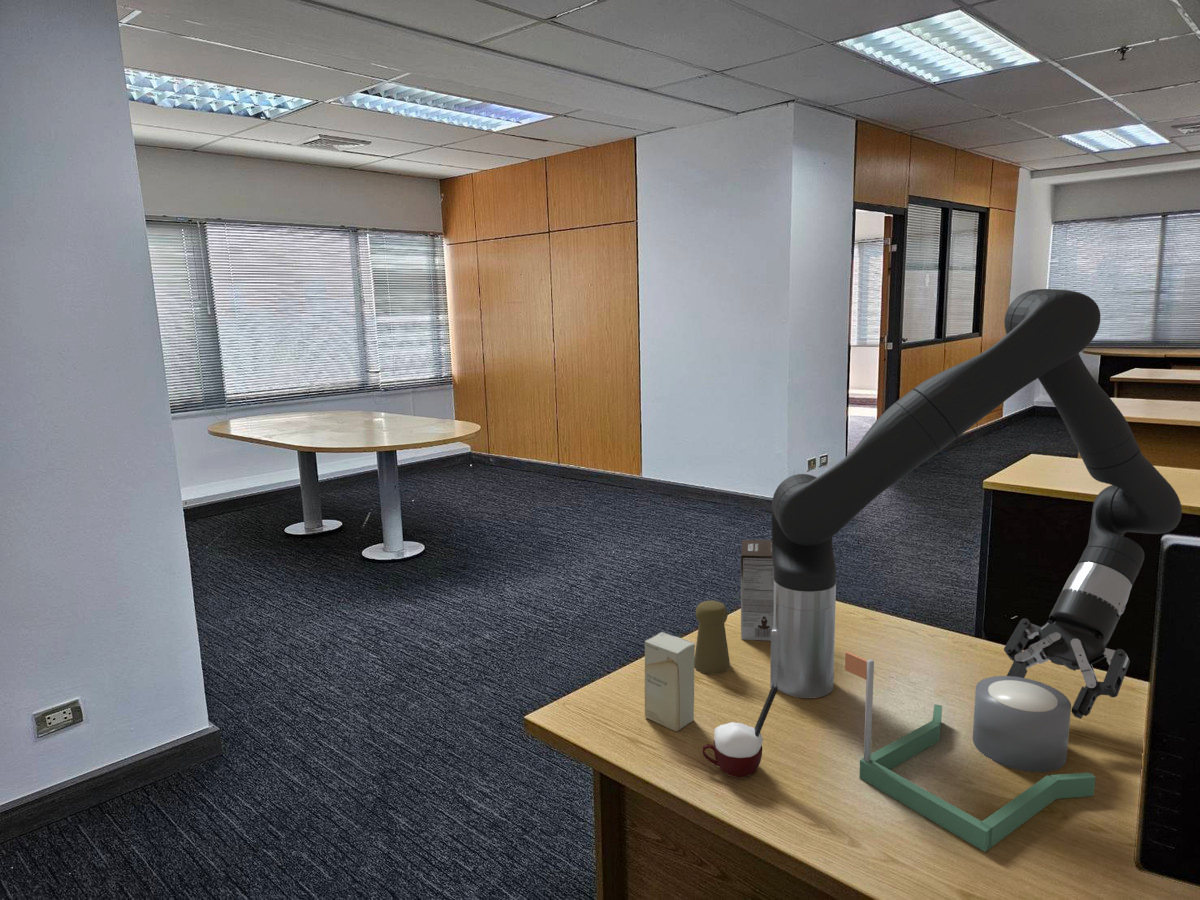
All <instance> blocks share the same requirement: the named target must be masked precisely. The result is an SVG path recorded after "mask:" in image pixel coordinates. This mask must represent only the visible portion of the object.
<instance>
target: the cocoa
mask: <svg viewBox="0 0 1200 900" xmlns="http://www.w3.org/2000/svg"><path fill="white" fill-rule="evenodd" d="M778 691H779V690H778V686H777V683H776V682H774V683H773V685H772V687H771V688H770V690H769V692H768V694H767V696H766V700H765V702H764V705H763V707H762V709H761V711H760V714H759V716H758V720H757V721H756V724H755V726H754V727H753V726H750V725H746V724H745V723H741V722H733V721H731V722H728V723H727V722H726V723H724V724H721V725H718V726H717V727H715V728H714V736H713V737H714V739H713V745H712V744H709V743H708V744H707V743H706V744H704V745H703V747H702V749H701V750H702V751H701V752H702V755H703V757H704V758H705V759H706V760H707V761H708V762H709V763H710V764H712V765H714V766H716V767H719V770H721V771H722V772H723V774H726V775H728V776H730V777H734V778H739V779H740V778H746V777H749V776H751V775H753V774H754V773H755V772H756V771H757V769H758V768H759V767H760V764H761V761H762V756H763V741H764V738H763V735H762V733H761V731H762V728H763V726H764V723H765V721H766V719H767V716H768V714H769V712H770V709H771V706H772V704H773V702H774V700H775V697H776V695H777V692H778ZM707 749H709V750H712V751H713V753H714V757H715V759H714V758H712V757H711V756H709V755H708V754H707V753H706V750H707Z"/></svg>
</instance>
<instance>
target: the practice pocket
mask: <svg viewBox="0 0 1200 900" xmlns="http://www.w3.org/2000/svg"><path fill="white" fill-rule="evenodd" d="M844 654H845V655H844V671H847V672H848V673H850V674H853V675H854V676H857V677H858V678H861V679H863V680H865V682H866V684H865V709H864V710H865V711H864V712H865V713H864V715H865V716H864V717H865V718H864V741H863V742H864V743H863V757H862V759H860V760H859V779H860V778H861V780H862V781H864V782H866V783H867V782H868V783H867V784H869V785H871V786H872V785H873V786H872V787H874V788H875V789H877V790H879V791H881V793H884V794H886V795H887V796H889V797H891V798H892V799H894V800H896V801H897V802H900V803H901V804H902V805H905V806H906V807H908V808H909V809H911V810H913V811H914V812H917V813H918V814H919V815H921V816H923V817H924V818H926V819H928V820H929V821H931V822H933V823H935V824H936V825H938V826H939V827H942V828H943V829H945V830H947V831H948V832H950V833H951V834H953V835H955V836H957V837H958V838H961V839H962V840H964V841H965V842H967V843H968V844H970V845H972V846H974V847H975V848H977V849H979V850H980V851H982V852H983V853H986V852H988V851H989V849H991V848H993V847H994V846H995V845H997V844H998V843H999V842H1001V841H1002V840H1004V839H1005V838H1006V837H1007V836H1008V835H1010V834H1011V833H1013V832H1014V831H1015V830H1017V829H1018V828H1019V827H1021V826H1022V825H1023V824H1025V823H1026V822H1028V820H1030V819H1031V818H1033V817H1034V816H1035V815H1037V814H1038V813H1040V811H1042V810H1043V809H1044V808H1046V807H1047V806H1049V805H1050V804H1051V803H1052V802H1055V800H1058V799H1071V798H1073V799H1074V798H1084V797H1085V798H1086V797H1094V796H1095V789H1096V788H1095V787H1096V785H1095V784H1096V776H1095V775H1094V774H1093V773H1092V772H1091V771H1089V772H1075V773H1074V772H1073V773H1062V774H1059V773H1058V774H1050V775H1048V774H1047V775H1045V776H1044V777H1043V778H1041V779H1040V780H1039V781H1037V782H1036V783H1034V784H1033V785H1031V786H1030V787H1028V788H1027V789H1026V790H1024V791H1022V793H1020V794H1018V795H1017V796H1015V797H1014V798H1013V799H1012V800H1010V801H1009V802H1007V803H1006V804H1005V805H1003V806H1001V807H1000V808H999V809H998V810H996V811H995V812H993V813H992V814H991V815H989V816H987V817H986V818H985V819H983V820H980V819H979V818H977V817H975V816H972V815H971V814H969V813H968V812H966V811H963V810H962V809H960V808H959V807H957V806H955V805H953V804H952V803H950V802H948V801H946V800H944V799H943V798H941V797H939V796H937V795H935V794H933V792H930V791H928V790H927V789H924V788H923V787H921V786H919V784H915V783H914V782H912V781H911V780H909V779H907V778H905V777H903V776H902V775H900V774H898V773H896V772H894V771H892V769H893V768H895V767H897V766H899V765H901V764H902V763H904V762H906V761H907V760H909V759H911V758H913V757H914V756H916V755H918V754H920V753H921V752H923V751H925V750H926V749H929V748H931V747H933V746H934V745H936V744H937V743H939V742H940V738H941V736H940V735H941V726H942V714H943V713H942V712H943V705H940V704H936V703H935V704H933V714H932V719H931V720H930V721H929V722H927V723H925V724H924V725H921V726H920V727H918V728H916V729H915V730H914V729H913V731H911V732H908V733H907V734H905V735H903V736H901V737H900V738H898V739H896V740H894V741H892V742H891V743H889V744H887V745H884V746H883V747H882V748H880V749H878V750H875V751H874V752H872V729H873V728H872V727H873V704H874V702H873V701H874V700H873V699H874V697H873V696H874V675H875V673H874V672H875V671H874V670H875V661H874V659H865V658H863V657H860V656H859V655H856V654H854V653H852V652H849V651H845V653H844Z"/></svg>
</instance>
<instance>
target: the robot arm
mask: <svg viewBox="0 0 1200 900" xmlns="http://www.w3.org/2000/svg"><path fill="white" fill-rule="evenodd" d="M1100 311H1101V310H1100V307H1099V305H1098V304H1097V302H1095V300H1094V299H1093V298H1092V297H1090V296H1089V295H1087V294H1084V293H1082V292H1078V291H1075V290H1074V291H1073V290H1068V289H1055V288H1037V289H1033V290H1028V291H1025V292H1023V293H1020V294H1019V295H1018V296H1017V297H1015V299H1014V300H1012V302H1010V304H1009V306H1008V308H1007V310H1006V312H1005V316H1004V330H1005V335H1004V336H1003V337H1002V338H1001V339H999V340H998V341H997V342H996V343H993V345H991V346H990V347H989V348H988V349H986V350H984V351H983V352H981V353H978V354H977V355H975V356H973V357H972V358H969V359H967V360H965V361H963V362H960V363H958V364H956V365H953V366H951V367H949V368H947V369H945V370H943V371H940V372H938V373H937V374H935V375H933V376H930V377H929V378H927V379H926V380H924V381H923V382H921V383H919V384H917V386H915V387H914V388H912V389H911V390H910V391H908V392H907V393H906V394H904V395H903V396H902V397H900V398H899V399H897V400H896V401H895V402H894V403H893V404H892V405H890V406H889V407H888V408H887V409H886V410H885V411H883V413H882V414H881V415H880V416H879V417H878V418H877V419H876V420H875V421H874V423H873V424H872V425H871V427H869V429H868V431H866V433H865V434H864V435H863V437H862V438H861V440H860V441H859V442H858V444H857V445H856V446H855V447H854V448H853V449H852V450H851V451H850V453H848V455H846V456H845V457H844V458H842V460H840V461H838V463H836V464H835V465H833V466H832V467H831V468H829V469H828V470H826V471H824V472H823V473H822V474H821V475H818V477H817V476H814V475H811V474H806V473H799V474H794V475H791V476H789V477H786V478H785V479H784V480H782V481H781V483H780V484H779V485H777V488H776V489H775V491H774V494H773V497H772V500H771V540H772V558H773V567H774V616H773V628H772V630H771V641H770V680H769V681H770V683H769V684H770V686H769V687H770V689H771V687H772V685H773V683H774V682H776V683H777V686H778V690H777V691H779V692H781V693H783V694H785V695H788V696H790V697H795V698H800V699H816V698H822V697H825V696H827V695H829V694H830V693H831V692H832V691H833V689H834V680H835V672H834V671H835V636H836V634H835V633H836V604H837V603H836V597H837V596H836V595H837V594H836V593H837V566H836V561H835V560H836V559H835V556H834V555H835V554H834V545H833V537H834V536H836V535H837V533H839V532H840V531H841V530H842V529H843V528H844V527H845V526H846V525H848V523H849V522H851V521H852V520H853V519H854V518H855V517H856V516H857V515H858V514H859V513H860V512H861V511H863V509H864V508H866V507H867V506H868V505H869V504H870V503H871V502H872V501H873V500H875V499H876V498H877V497H878V496H879V495H881V494H882V493H883V492H885V491H886V490H888V489H889V488H891V487H892V486H894V484H896V483H897V482H899V481H901V480H902V479H903V478H905V477H906V476H907V475H909V474H910V473H911V472H913V471H914V470H916V469H917V468H918V467H919V466H921V465H922V464H924V463H925V462H926V461H928V460H930V459H931V458H932V457H934V456H935V455H937V454H938V453H940V452H941V451H942V450H944V449H945V448H947V446H948V445H950V444H952V443H953V442H955V440H957V439H958V438H960V437H961V436H962V435H964V433H966V432H967V431H968V430H969V429H971V428H972V427H973V426H975V424H977V423H978V422H980V421H981V420H982V419H984V418H985V417H987V416H988V415H989V414H990V413H992V412H993V411H994V410H995V409H997V408H998V407H999V406H1001V405H1002V404H1003V403H1005V401H1007V400H1008V399H1010V398H1011V397H1012V396H1013V395H1015V394H1017V393H1018V392H1019V391H1021V390H1022V389H1024V387H1026V386H1029V384H1031V383H1033V382H1034V381H1037V379H1038V381H1039V382H1040V384H1041V386H1042V387H1043V388H1044V390H1045V391H1046V393H1047V395H1048V396H1049V398H1050V400H1051V401H1052V403H1053V404H1054V407H1055V408H1056V410H1057V411H1058V414H1059V415H1060V418H1061V419H1062V421H1063V424H1064V425H1065V426H1066V429H1067V431H1068V433H1069V435H1070V437H1071V439H1072V441H1073V443H1074V445H1075V447H1076V449H1077V451H1078V453H1079V456H1080V458H1081V459H1082V461H1083V462H1082V463H1084V466H1085V468H1086V470H1087V471H1088V473H1089V475H1090V476H1091V478H1092V479H1094V480H1095V481H1097V482H1100V483H1104V484H1107V485H1109V486H1107V487H1105V488H1103V489H1102V490H1101V491H1100V492H1099V493H1098V494H1097V495H1096V496H1095V499H1094V500H1093V505H1092V511H1091V519H1090V528H1089V535H1088V539H1087V540H1088V542H1087V545H1086V547H1084V550H1083V552H1082V554H1081V557H1080V559H1079V560H1078V562H1077V565H1075V568H1073V569H1074V570H1072V572H1071V573H1070V575H1069V576H1068V578H1067V580H1066V582H1065V584H1064V586H1063V588H1062V590H1061V591H1060V594H1059V595H1058V597H1057V600H1056V602H1055V604H1054V606H1053V608H1052V610H1051V612H1050V614H1049V617H1048V619H1047V622H1046V623H1044V625H1042V626H1039V625H1037V624H1034V623H1031V622H1030V620H1029V619H1028V618H1025V617H1024V618H1021V619H1020V621H1019V622H1018V623H1017V626H1016V627H1015V629H1014V630H1013V632H1012V634H1011V636H1010V637H1009V639H1008V641H1007V643H1006V644H1005V645H1004V647H1003V651H1004V652H1005V654H1006V655H1007V657H1008V658H1009V660H1011V661H1013V662H1012V664H1011V666H1010V668H1009V670H1008V672H1007V674H1006V676H1014V677H1021V678H1025V677H1026V675H1027V673H1028V670H1027V669H1029V668H1031V667H1033V666H1035V665H1037V664H1040V665H1041V664H1044V663H1046V662H1048V661H1050V662H1051V664H1054V665H1058V666H1064V667H1066V668H1068V669H1069V670H1071V671H1075V672H1076V671H1078V670H1079V671H1080V673H1081V675H1082V677H1083V680H1084V683H1085V686H1081V688H1080V691H1079V692H1078V694H1077V696H1076V698H1075V701H1074V703H1073V705H1072V706H1071V713H1072V714H1073V716H1074V717H1075V718H1078V719H1080V720H1081V719H1082V718H1083V716H1085V717H1087V716H1088V715H1090V713H1091V710H1092V709H1093V706H1094V705H1095V702H1096V700H1097V699H1098V697H1100V696H1109V698H1116V697H1118V695H1119V693H1120V690H1121V687H1122V684H1123V682H1124V679H1125V676H1126V674H1127V671H1128V669H1129V666H1130V664H1131V663H1130V662H1131V660H1130V658H1129V657H1128V654H1127V653H1126V651H1125V650H1124V649H1122V648H1117V649H1116V650H1115V649H1110V648H1107V644H1108V643H1109V642H1110V640H1111V637H1112V635H1113V633H1114V631H1115V630H1116V627H1117V624H1118V623H1119V620H1120V618H1121V616H1122V614H1124V612H1125V610H1126V605H1127V603H1128V601H1129V597H1130V593H1131V590H1132V587H1133V586H1134V583H1135V582H1136V579H1137V577H1138V576H1139V573H1140V570H1141V568H1142V566H1143V563H1144V561H1145V552H1144V551H1145V550H1144V549H1143V548H1142V546H1141V545H1139V543H1137V542H1136V541H1134V540H1133V539H1131V538H1128V537H1126V536H1124V535H1125V534H1126V533H1138V534H1152V535H1154V534H1155V535H1160V534H1163V535H1164V534H1167V533H1169V532H1172V531H1173V530H1175V529H1176V528H1177V527H1178V525H1179V523H1180V522H1181V519H1182V513H1183V509H1182V508H1183V507H1182V503H1181V500H1180V497H1179V496H1178V494H1177V492H1176V490H1175V489H1174V487H1173V486H1172V485H1171V484H1170V482H1169V481H1168V480H1167V479H1166V478H1165V477H1164V476H1163V475H1162V474H1161V473H1160V471H1159V470H1157V468H1156V467H1155V466H1154V465H1153V463H1151V462H1150V461H1149V460H1148V459H1147V458H1146V457H1145V456H1144V454H1143V453H1142V450H1141V449H1140V446H1139V444H1138V442H1137V440H1136V438H1135V435H1134V433H1133V431H1132V429H1131V427H1130V425H1129V423H1128V422H1127V420H1126V418H1125V416H1124V415H1123V413H1122V412H1121V410H1120V409H1119V408H1118V406H1117V405H1116V403H1114V401H1113V399H1112V398H1110V396H1109V395H1108V394H1107V393H1106V391H1105V390H1104V389H1103V388H1102V387H1101V386H1100V384H1099V383H1098V382H1097V380H1096V379H1095V378H1094V377H1093V375H1092V374H1091V372H1090V371H1089V370H1088V368H1087V366H1086V364H1085V363H1084V360H1082V357H1081V354H1080V353H1081V352H1082V351H1083V350H1084V349H1085V348H1086V347H1087V346H1089V345H1090V343H1092V341H1093V340H1094V338H1095V336H1096V335H1097V333H1098V330H1099V328H1100V326H1101V325H1100V324H1101V312H1100ZM1036 636H1039V640H1038V641H1037V642H1034V643H1032V644H1030V645H1028V647H1027V648H1026V649H1025V647H1026V645H1027V644H1028V642H1029V640H1033V639H1034V638H1035V637H1036ZM1024 649H1025V650H1024ZM1105 658H1106V663H1108V665H1109V666H1108V667H1107V668H1108V669H1107V670H1106V671H1107V672H1106V674H1105V676H1104V679H1103V681H1098V677H1097V675H1096V673H1095V669H1094V667H1093V665H1094V664H1096V663H1097V662H1100V661H1102V660H1103V659H1105Z"/></svg>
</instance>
